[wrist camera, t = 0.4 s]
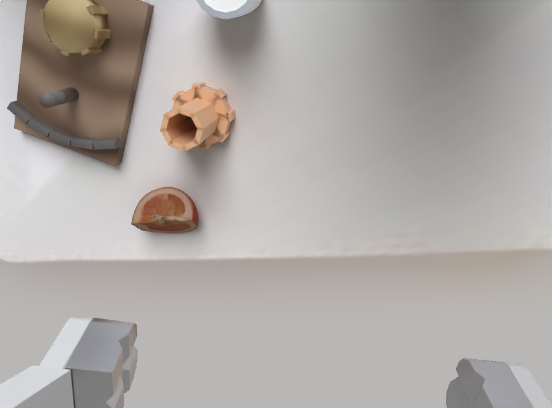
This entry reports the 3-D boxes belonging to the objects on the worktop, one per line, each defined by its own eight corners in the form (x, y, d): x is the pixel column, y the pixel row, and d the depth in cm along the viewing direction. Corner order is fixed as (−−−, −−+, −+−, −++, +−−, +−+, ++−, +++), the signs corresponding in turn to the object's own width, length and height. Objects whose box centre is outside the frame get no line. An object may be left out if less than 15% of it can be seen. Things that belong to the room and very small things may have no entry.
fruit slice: (150, 230, 62) (135, 246, 57) (140, 184, 60) (123, 197, 55) (208, 227, 61) (197, 243, 56) (200, 180, 58) (188, 193, 54)
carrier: (38, -38, 51) (-6, -47, 45) (154, 6, 51) (127, 2, 45) (20, 125, 59) (-19, 137, 52) (122, 163, 59) (94, 179, 52)
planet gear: (183, 74, 54) (156, 82, 46) (241, 96, 54) (224, 108, 46) (169, 132, 56) (141, 149, 49) (224, 153, 56) (205, 173, 49)
